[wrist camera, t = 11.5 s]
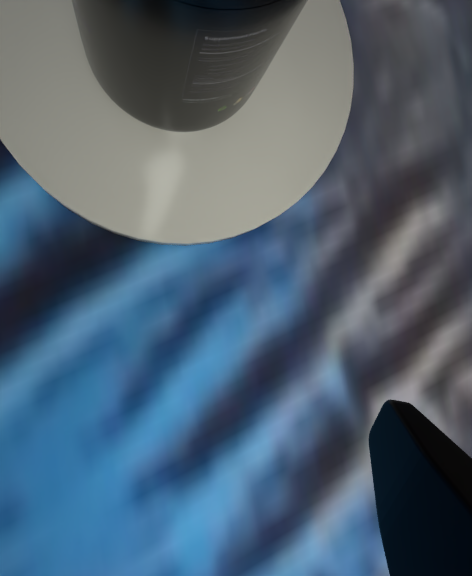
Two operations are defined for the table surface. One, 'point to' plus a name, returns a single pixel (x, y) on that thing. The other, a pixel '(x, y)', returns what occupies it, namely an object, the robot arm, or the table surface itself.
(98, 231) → the table surface
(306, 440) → the table surface
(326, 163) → the saucer
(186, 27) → the supplement bottle
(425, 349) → the table surface
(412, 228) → the table surface
